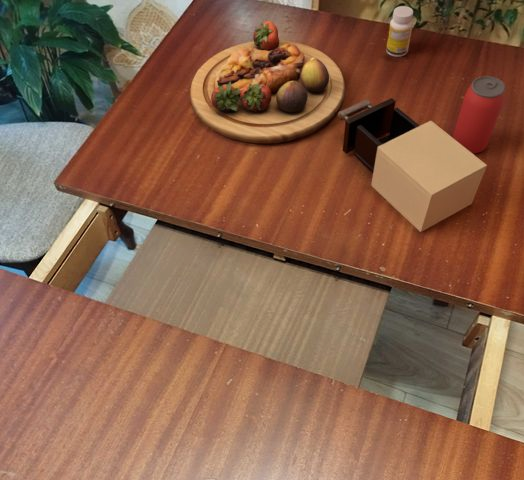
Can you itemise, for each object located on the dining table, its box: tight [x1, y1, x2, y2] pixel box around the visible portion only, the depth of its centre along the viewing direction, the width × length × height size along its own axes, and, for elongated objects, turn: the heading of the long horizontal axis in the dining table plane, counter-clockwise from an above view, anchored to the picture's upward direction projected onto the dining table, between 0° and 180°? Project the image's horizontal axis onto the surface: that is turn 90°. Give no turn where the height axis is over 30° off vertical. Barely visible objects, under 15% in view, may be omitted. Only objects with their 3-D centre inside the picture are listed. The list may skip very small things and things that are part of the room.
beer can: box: [451, 75, 506, 155], centre depth 97 cm, size 7×7×12 cm
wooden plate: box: [189, 20, 346, 144], centre depth 109 cm, size 32×32×8 cm
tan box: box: [370, 120, 487, 233], centre depth 93 cm, size 14×12×9 cm
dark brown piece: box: [337, 97, 421, 174], centre depth 99 cm, size 17×10×7 cm, turn 32°
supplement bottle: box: [385, 5, 414, 58], centre depth 115 cm, size 5×5×8 cm
